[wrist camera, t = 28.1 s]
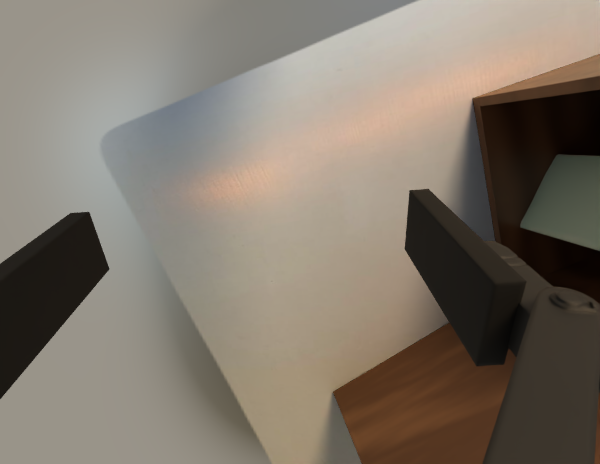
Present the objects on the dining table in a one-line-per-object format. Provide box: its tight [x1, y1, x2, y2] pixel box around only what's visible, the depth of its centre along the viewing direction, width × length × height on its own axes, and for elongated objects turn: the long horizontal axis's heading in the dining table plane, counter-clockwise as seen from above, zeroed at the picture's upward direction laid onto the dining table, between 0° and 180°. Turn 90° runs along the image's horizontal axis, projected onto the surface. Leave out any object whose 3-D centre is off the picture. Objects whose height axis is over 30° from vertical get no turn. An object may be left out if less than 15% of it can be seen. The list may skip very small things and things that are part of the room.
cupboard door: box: [333, 323, 600, 464], centre depth 42 cm, size 7×30×30 cm, turn 118°
